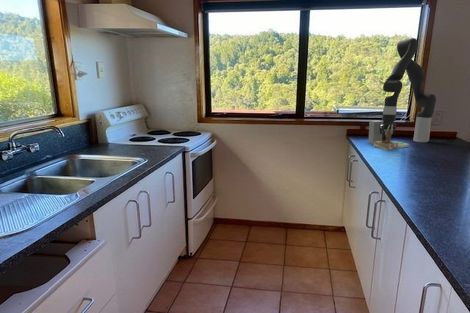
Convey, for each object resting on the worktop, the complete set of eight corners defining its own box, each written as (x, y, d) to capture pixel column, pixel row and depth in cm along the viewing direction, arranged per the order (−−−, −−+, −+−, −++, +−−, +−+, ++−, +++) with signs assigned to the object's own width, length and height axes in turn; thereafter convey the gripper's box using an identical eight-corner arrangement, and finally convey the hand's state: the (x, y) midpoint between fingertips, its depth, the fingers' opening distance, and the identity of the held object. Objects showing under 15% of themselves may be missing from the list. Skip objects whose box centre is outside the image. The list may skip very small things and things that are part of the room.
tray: (394, 144, 219) (394, 141, 218) (408, 147, 210) (408, 144, 210) (384, 146, 214) (385, 142, 214) (398, 149, 206) (398, 145, 205)
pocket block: (383, 146, 214) (384, 140, 213) (397, 149, 205) (398, 142, 204) (373, 147, 209) (374, 141, 208) (386, 150, 201) (387, 144, 200)
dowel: (384, 146, 210) (386, 128, 207) (390, 147, 206) (393, 129, 203) (380, 147, 208) (382, 128, 205) (386, 148, 204) (388, 129, 201)
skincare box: (382, 145, 217) (385, 121, 213) (371, 145, 217) (374, 121, 213) (377, 142, 225) (379, 119, 221) (366, 142, 225) (369, 119, 221)
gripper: (391, 112, 208) (388, 138, 212) (376, 113, 202) (373, 140, 206) (402, 113, 202) (398, 140, 206) (387, 114, 195) (383, 142, 199)
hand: (386, 140), depth 206 cm, fingers closed on dowel, 4 cm apart
